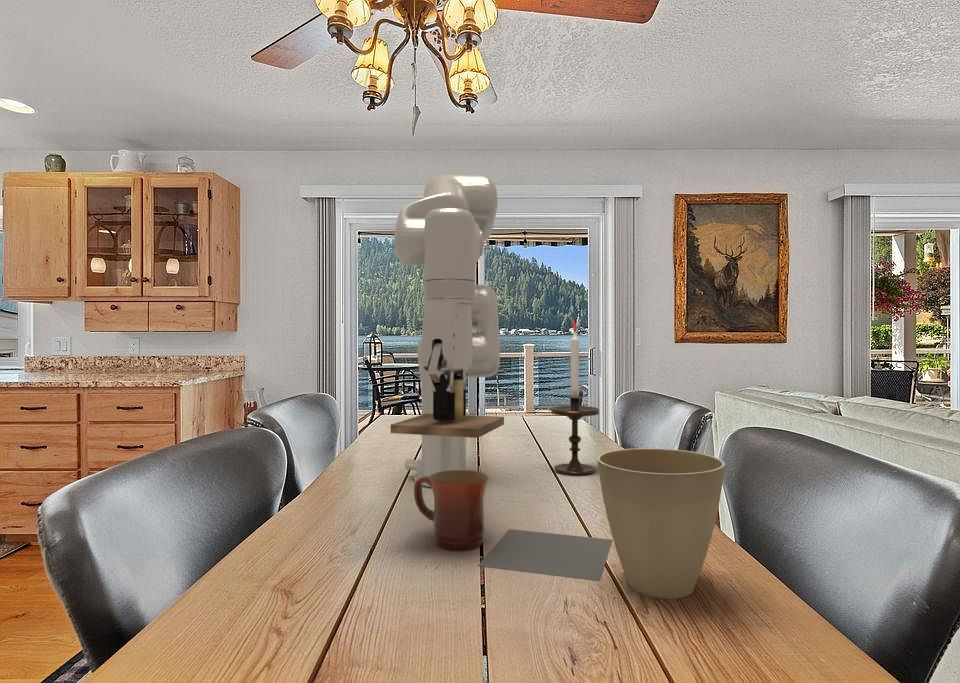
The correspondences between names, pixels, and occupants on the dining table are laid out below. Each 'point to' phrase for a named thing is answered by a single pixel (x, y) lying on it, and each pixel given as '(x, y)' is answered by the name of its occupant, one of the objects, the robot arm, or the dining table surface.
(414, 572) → the dining table surface
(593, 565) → the mat
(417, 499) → the mug
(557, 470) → the candlestick
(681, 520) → the plant pot
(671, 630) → the dining table surface
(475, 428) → the lid
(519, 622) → the dining table surface
